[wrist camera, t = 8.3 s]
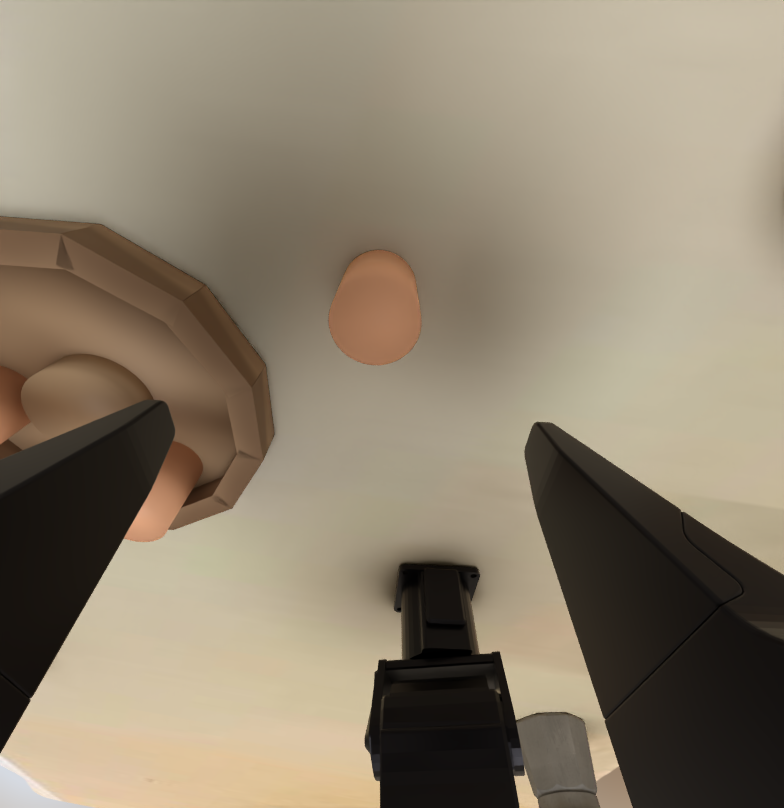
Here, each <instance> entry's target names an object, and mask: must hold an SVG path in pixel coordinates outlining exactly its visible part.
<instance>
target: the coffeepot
mask: <svg viewBox="0 0 784 808" xmlns="http://www.w3.org/2000/svg"><path fill="white" fill-rule="evenodd" d="M516 724H517V729H518V734H519V739H520V745H521V750H522V756H523V763H524V766H525V769H526V772H527V775H528V778H529V781H530V784H531V787H532V790H533V793H534V795H535V796H536V797H537V799H538V804H539V808H600V805H599V802H598V799H597V796H596V792H597V786H596V780H595V775H594V770H593V765H592V759H591V754H590V749H589V743H588V738H587V733H586V728H585V722H584V721H582V720H581V719H580V718H578V717H577V716H575V715H572V714H567V713H559V712H549V713H539V714H534V715H530V716H527V717H524V718H522V719H520V720H519V721H517V722H516Z"/></svg>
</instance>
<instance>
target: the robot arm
mask: <svg viewBox="0 0 784 808" xmlns="http://www.w3.org/2000/svg"><path fill="white" fill-rule="evenodd" d="M174 437H175V426H174V423H173V419H172V416H171V413H170V410H169V407H168V405H167V403H166V402H165V401H163V400H144V401H141V402H139V403H136V404H134V405H131V406H129V407H127V408H124V409H122V410H119V411H117V412H114V413H112V414H110V415H107V416H105V417H102V418H100V419H97V420H95V421H93V422H90V423H88V424H85V425H83V426H80V427H78V428H76V429H73V430H71V431H68V432H66V433H64V434H61V435H59V436H56V437H54V438H51V439H49V440H47V441H44V442H42V443H39V444H37V445H34V446H32V447H30V448H27V449H25V450H22V451H20V452H17V453H15V454H13V455H10V456H8V457H5V458H3V459H0V753H1V751H2V750H3V748H4V746H5V744H6V743H7V741H8V739H9V737H10V736H11V734H12V732H13V730H14V729H15V727H16V725H17V723H18V722H19V720H20V718H21V717H22V715H23V713H24V711H25V710H26V708H27V706H28V704H29V703H30V699H29V698H32V697H33V695H34V693H35V692H36V690H37V688H38V686H39V685H40V683H41V681H42V679H43V678H44V676H45V674H46V672H47V671H48V669H49V667H50V666H51V664H52V662H53V660H54V659H55V657H56V655H57V653H58V652H59V650H60V648H61V646H62V645H63V643H64V641H65V639H66V638H67V636H68V634H69V633H70V631H71V629H72V627H73V626H74V624H75V622H76V620H77V619H78V617H79V615H80V613H81V612H82V610H83V608H84V606H85V605H86V603H87V601H88V599H89V598H90V596H91V594H92V593H93V591H94V589H95V587H96V586H97V584H98V582H99V580H100V579H101V577H102V575H103V573H104V572H105V570H106V568H107V566H108V565H109V563H110V561H111V560H112V558H113V556H114V554H115V553H116V551H117V549H118V547H119V546H120V544H121V542H122V540H123V539H124V537H125V535H126V533H127V532H128V530H129V528H130V527H131V525H132V523H133V521H134V520H135V518H136V516H137V514H138V513H139V511H140V509H141V507H142V506H143V504H144V502H145V500H146V499H147V497H148V495H149V493H150V491H151V489H152V487H153V485H154V483H155V481H156V479H157V476H158V474H159V472H160V469H161V467H162V465H163V462H164V460H165V458H166V456H167V453H168V451H169V449H170V446H171V444H172V442H173V439H174ZM525 460H526V465H527V470H528V475H529V480H530V485H531V490H532V495H533V500H534V505H535V509H536V512H537V516H538V519H539V522H540V525H541V528H542V531H543V534H544V537H545V540H546V543H547V547H548V550H549V553H550V556H551V559H552V562H553V565H554V568H555V571H556V574H557V577H558V580H559V583H560V586H561V589H562V592H563V595H564V598H565V601H566V604H567V607H568V611H569V614H570V617H571V620H572V623H573V626H574V629H575V632H576V635H577V638H578V641H579V644H580V647H581V650H582V653H583V656H584V659H585V662H586V665H587V668H588V672H589V675H590V678H591V681H592V684H593V687H594V690H595V693H596V696H597V699H598V702H599V705H600V708H601V711H602V714H603V717H604V718H605V719H606V720H605V724H606V727H607V730H608V733H609V736H610V739H611V742H612V746H613V749H614V752H615V755H616V758H617V761H618V764H619V767H620V770H621V773H622V776H623V779H624V782H625V785H626V788H627V791H628V794H629V797H630V800H631V803H632V806H633V808H784V575H783V574H781V573H780V572H778V571H776V570H775V569H773V568H771V567H770V566H768V565H767V564H765V563H763V562H762V561H760V560H758V559H757V558H755V557H753V556H752V555H750V554H749V553H747V552H745V551H744V550H742V549H740V548H739V547H737V546H736V545H734V544H732V543H731V542H729V541H727V540H726V539H724V538H723V537H721V536H720V535H718V534H717V533H715V532H714V531H712V530H711V529H709V528H708V527H706V526H705V525H703V524H701V523H700V522H698V521H697V520H696V519H694V518H693V517H691V516H690V515H688V514H687V513H685V512H681V510H680V509H679V508H678V507H676V506H675V505H673V504H672V503H670V502H669V501H667V500H666V499H664V498H663V497H661V496H660V495H658V494H657V493H655V492H654V491H652V490H651V489H650V488H648V487H647V486H645V485H644V484H642V483H641V482H639V481H638V480H636V479H635V478H633V477H632V476H630V475H629V474H627V473H626V472H624V471H623V470H621V469H620V468H618V467H617V466H615V465H614V464H612V463H611V462H609V461H608V460H606V459H605V458H603V457H602V456H601V455H599V454H598V453H596V452H595V451H593V450H592V449H590V448H589V447H587V446H586V445H584V444H583V443H581V442H580V441H578V440H577V439H575V438H574V437H572V436H571V435H569V434H568V433H566V432H565V431H563V430H562V429H560V428H559V427H557V426H556V425H555V424H553V423H550V422H536V423H534V424H533V426H532V428H531V431H530V434H529V437H528V440H527V443H526V446H525ZM479 577H480V574H479V570H478V569H477V568H467V567H448V566H428V565H409V564H403V565H401V566H400V567H399V572H398V579H397V587H396V594H395V601H394V610H395V611H396V612H401V621H402V660H391V661H387V660H386V659H384V660H379V663H378V670H377V671H376V672H375V678H374V690H373V699H372V707H371V712H370V716H369V721H368V725H367V730H366V734H365V747H366V749H367V750H368V752H369V753H370V754H371V761H372V768H373V773H374V777H375V780H376V781H380V808H519V802H518V796H517V791H516V785H515V780H514V776H524V775H525V771H524V763H523V756H522V750H521V745H520V739H519V734H518V729H517V724H516V719H515V715H514V710H513V706H512V702H511V697H510V693H509V689H508V685H507V681H506V676H505V672H504V668H503V664H502V659H501V655H500V651H497V652H492V653H490V654H479V648H478V642H477V636H476V630H475V624H474V618H473V612H472V606H471V601H472V598H473V595H474V592H475V589H476V586H477V583H478V580H479Z"/></svg>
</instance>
